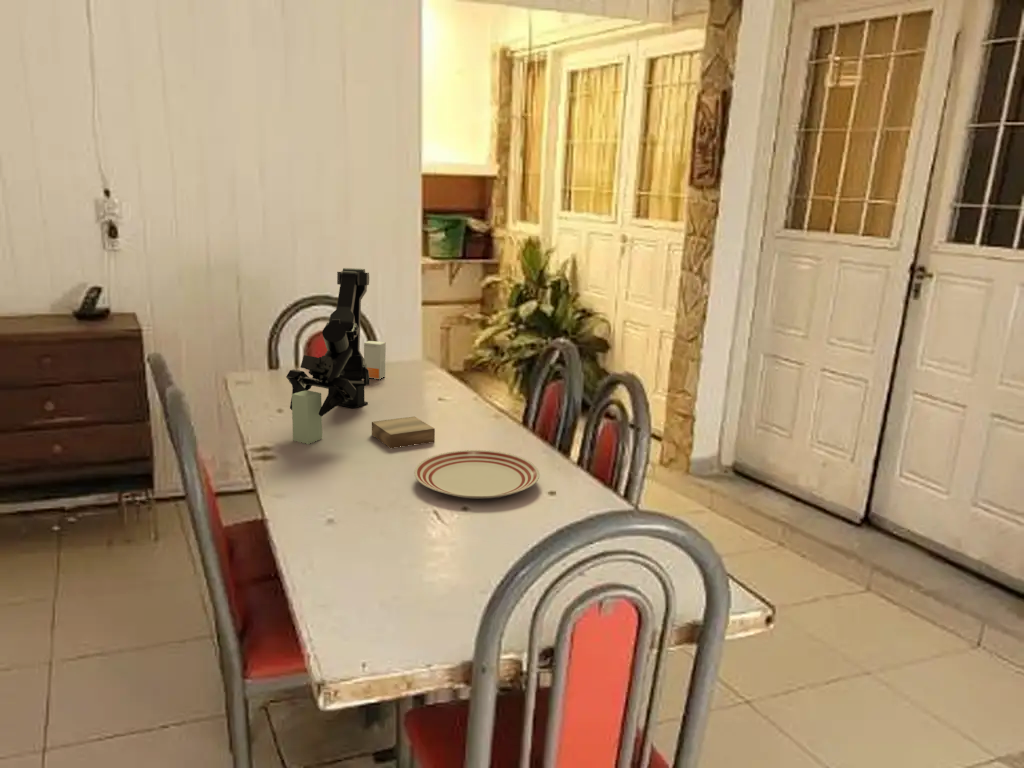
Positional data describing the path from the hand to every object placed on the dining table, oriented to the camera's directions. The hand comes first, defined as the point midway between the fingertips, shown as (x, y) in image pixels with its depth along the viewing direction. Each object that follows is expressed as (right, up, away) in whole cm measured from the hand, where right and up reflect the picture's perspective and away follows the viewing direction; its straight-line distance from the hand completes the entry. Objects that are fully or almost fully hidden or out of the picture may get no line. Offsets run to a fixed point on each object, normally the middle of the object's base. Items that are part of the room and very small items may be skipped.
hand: (305, 412), depth 202 cm
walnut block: (+23, -7, +6) cm, 25 cm away
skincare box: (+6, +9, +68) cm, 68 cm away
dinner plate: (+43, -15, -22) cm, 51 cm away
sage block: (0, -7, +2) cm, 7 cm away
